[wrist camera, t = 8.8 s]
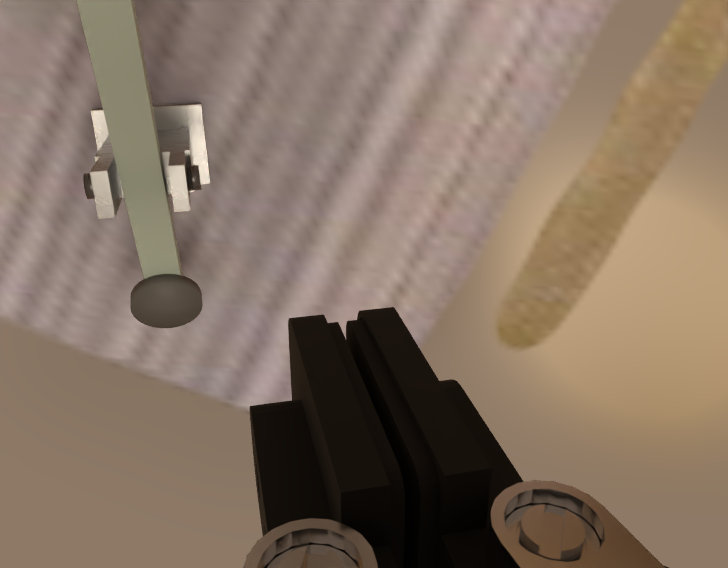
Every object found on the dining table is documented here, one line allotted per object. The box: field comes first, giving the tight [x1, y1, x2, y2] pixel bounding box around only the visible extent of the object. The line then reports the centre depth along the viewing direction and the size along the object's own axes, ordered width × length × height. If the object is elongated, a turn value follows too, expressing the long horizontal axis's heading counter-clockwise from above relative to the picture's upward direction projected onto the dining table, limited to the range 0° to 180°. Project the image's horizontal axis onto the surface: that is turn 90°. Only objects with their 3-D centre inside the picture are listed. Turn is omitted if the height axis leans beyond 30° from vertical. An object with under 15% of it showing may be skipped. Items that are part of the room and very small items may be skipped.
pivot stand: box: [84, 103, 210, 219], centre depth 30 cm, size 4×5×10 cm
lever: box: [77, 0, 202, 328], centre depth 24 cm, size 25×3×2 cm, turn 2°
